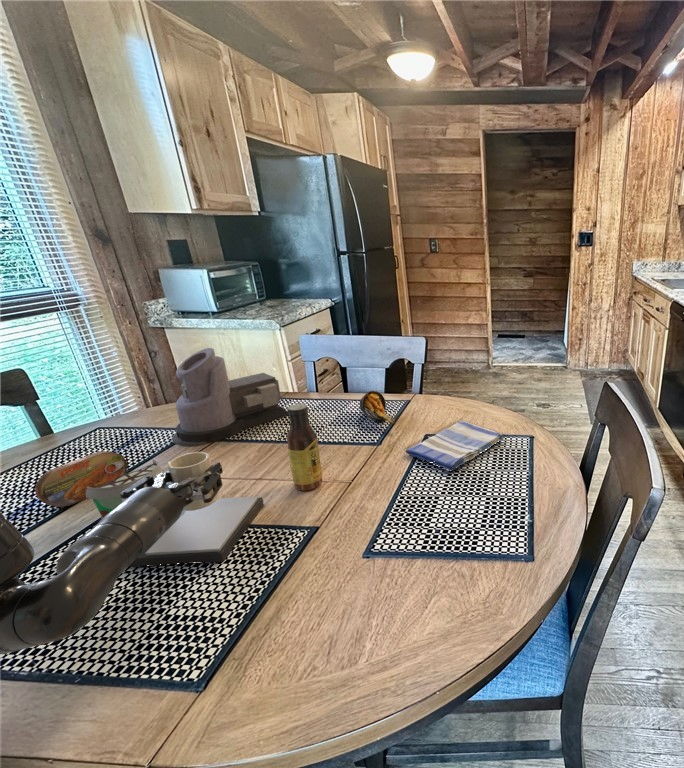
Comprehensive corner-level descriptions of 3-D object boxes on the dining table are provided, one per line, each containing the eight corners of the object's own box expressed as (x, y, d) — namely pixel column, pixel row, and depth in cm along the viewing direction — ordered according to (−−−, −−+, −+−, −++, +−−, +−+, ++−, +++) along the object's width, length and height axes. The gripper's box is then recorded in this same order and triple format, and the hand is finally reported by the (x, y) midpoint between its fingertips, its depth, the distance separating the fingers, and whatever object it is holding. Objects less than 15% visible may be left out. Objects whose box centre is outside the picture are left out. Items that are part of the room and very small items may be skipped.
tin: (49, 515, 85) (35, 479, 83) (39, 511, 86) (25, 476, 84) (132, 477, 99) (122, 446, 96) (123, 475, 100) (113, 443, 97)
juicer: (185, 451, 111) (162, 364, 103) (163, 434, 120) (140, 352, 111) (295, 416, 135) (283, 342, 126) (269, 404, 143) (257, 334, 135)
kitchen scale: (124, 568, 73) (120, 556, 72) (184, 508, 89) (181, 498, 88) (223, 562, 75) (220, 550, 74) (263, 505, 91) (261, 494, 90)
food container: (118, 540, 79) (103, 496, 76) (98, 532, 81) (82, 488, 78) (186, 504, 90) (175, 464, 87) (167, 497, 92) (155, 458, 89)
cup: (172, 511, 76) (160, 468, 73) (191, 493, 82) (181, 452, 79) (207, 510, 77) (197, 467, 74) (224, 491, 83) (215, 451, 80)
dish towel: (505, 440, 123) (505, 432, 122) (452, 475, 105) (452, 465, 104) (460, 425, 132) (460, 417, 131) (404, 454, 113) (403, 445, 112)
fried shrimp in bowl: (376, 394, 143) (410, 389, 132) (374, 426, 141) (408, 423, 130) (352, 390, 135) (386, 385, 125) (349, 424, 134) (384, 421, 123)
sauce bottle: (321, 490, 97) (310, 411, 90) (291, 494, 95) (278, 414, 88) (324, 475, 103) (314, 400, 96) (296, 478, 101) (284, 403, 94)
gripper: (182, 500, 64) (236, 448, 79) (77, 505, 62) (154, 451, 78) (193, 540, 66) (243, 482, 82) (92, 546, 64) (163, 485, 80)
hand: (199, 467), depth 80 cm, fingers closed on cup, 6 cm apart
